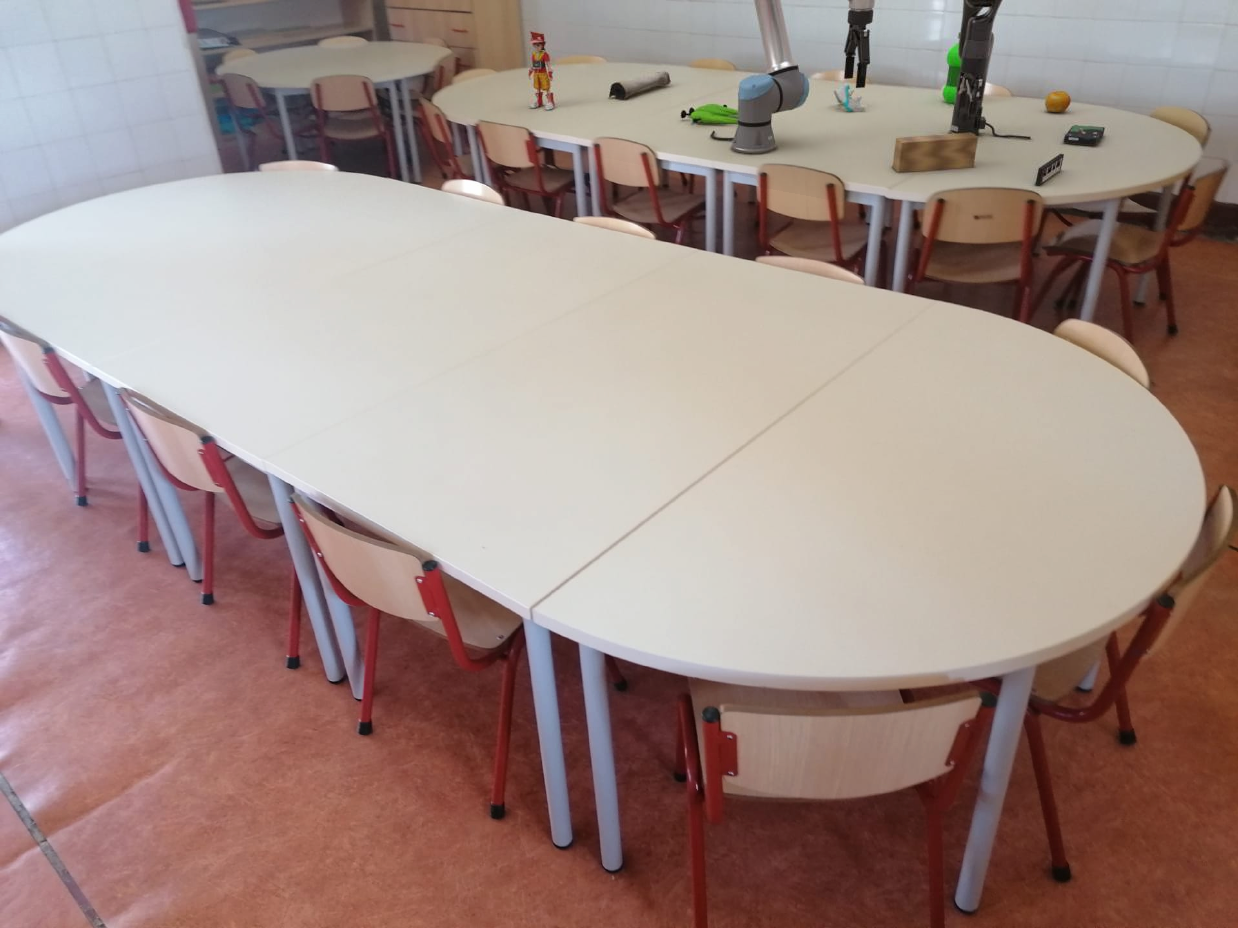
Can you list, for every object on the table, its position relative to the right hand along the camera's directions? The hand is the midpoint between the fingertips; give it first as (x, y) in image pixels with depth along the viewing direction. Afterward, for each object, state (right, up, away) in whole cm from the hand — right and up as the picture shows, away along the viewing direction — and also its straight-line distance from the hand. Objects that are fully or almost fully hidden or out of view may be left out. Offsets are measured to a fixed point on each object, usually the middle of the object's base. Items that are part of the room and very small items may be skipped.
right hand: (966, 111), depth 280 cm
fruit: (+55, +22, +56) cm, 81 cm away
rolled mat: (-99, +54, +117) cm, 163 cm away
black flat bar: (+23, -23, -5) cm, 33 cm away
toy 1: (-141, +42, +103) cm, 180 cm away
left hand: (-34, +11, +6) cm, 36 cm away
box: (-7, -14, +10) cm, 19 cm away
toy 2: (-69, +24, +70) cm, 101 cm away
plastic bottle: (+24, +33, +75) cm, 85 cm away
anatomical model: (-18, +31, +76) cm, 84 cm away
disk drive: (+50, 0, +25) cm, 56 cm away
